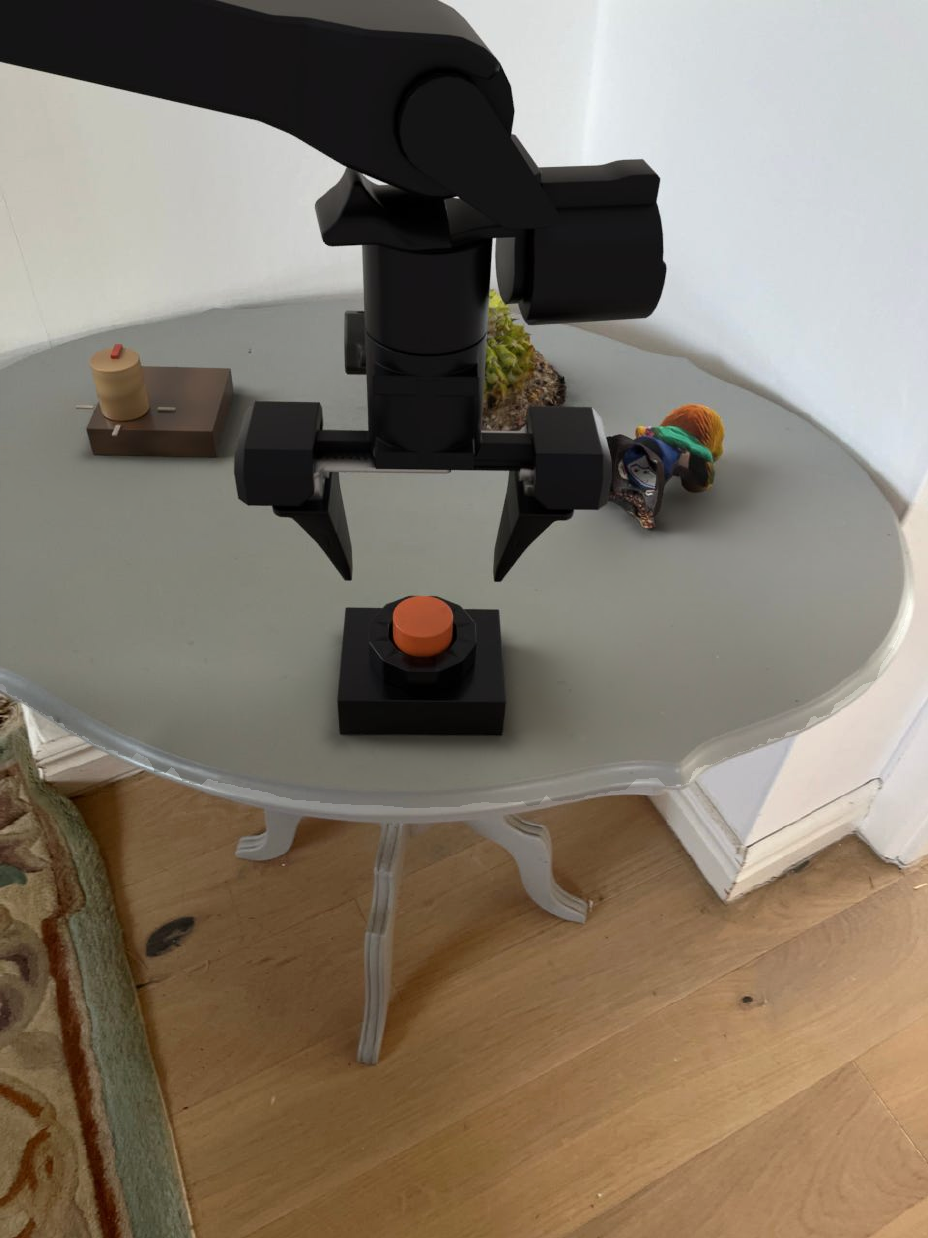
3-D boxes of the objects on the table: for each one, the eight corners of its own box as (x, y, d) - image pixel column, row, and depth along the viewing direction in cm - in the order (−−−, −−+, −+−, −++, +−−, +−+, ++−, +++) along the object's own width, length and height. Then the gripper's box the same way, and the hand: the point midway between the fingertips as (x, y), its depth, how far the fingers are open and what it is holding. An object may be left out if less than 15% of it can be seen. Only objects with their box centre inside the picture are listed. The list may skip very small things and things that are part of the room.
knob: (145, 421, 78) (133, 368, 74) (97, 420, 77) (83, 367, 74) (153, 396, 80) (142, 343, 77) (107, 395, 80) (94, 343, 77)
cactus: (574, 449, 82) (589, 344, 75) (387, 444, 81) (385, 338, 75) (557, 349, 94) (568, 251, 88) (394, 344, 94) (393, 245, 87)
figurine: (686, 446, 83) (701, 382, 79) (749, 493, 78) (768, 427, 74) (581, 485, 78) (591, 419, 74) (641, 536, 74) (654, 469, 70)
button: (392, 657, 57) (392, 636, 56) (393, 615, 60) (393, 594, 59) (452, 658, 57) (453, 637, 56) (451, 616, 60) (452, 595, 59)
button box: (339, 734, 59) (335, 679, 55) (347, 641, 64) (344, 586, 61) (502, 736, 59) (508, 681, 56) (496, 643, 65) (501, 588, 61)
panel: (70, 461, 78) (62, 433, 76) (103, 389, 85) (97, 362, 84) (214, 464, 78) (209, 436, 76) (234, 393, 86) (230, 366, 84)
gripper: (602, 256, 51) (568, 494, 62) (246, 247, 50) (275, 490, 61) (635, 363, 43) (589, 614, 54) (212, 354, 42) (253, 612, 53)
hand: (423, 576), depth 55 cm, fingers open, 8 cm apart
